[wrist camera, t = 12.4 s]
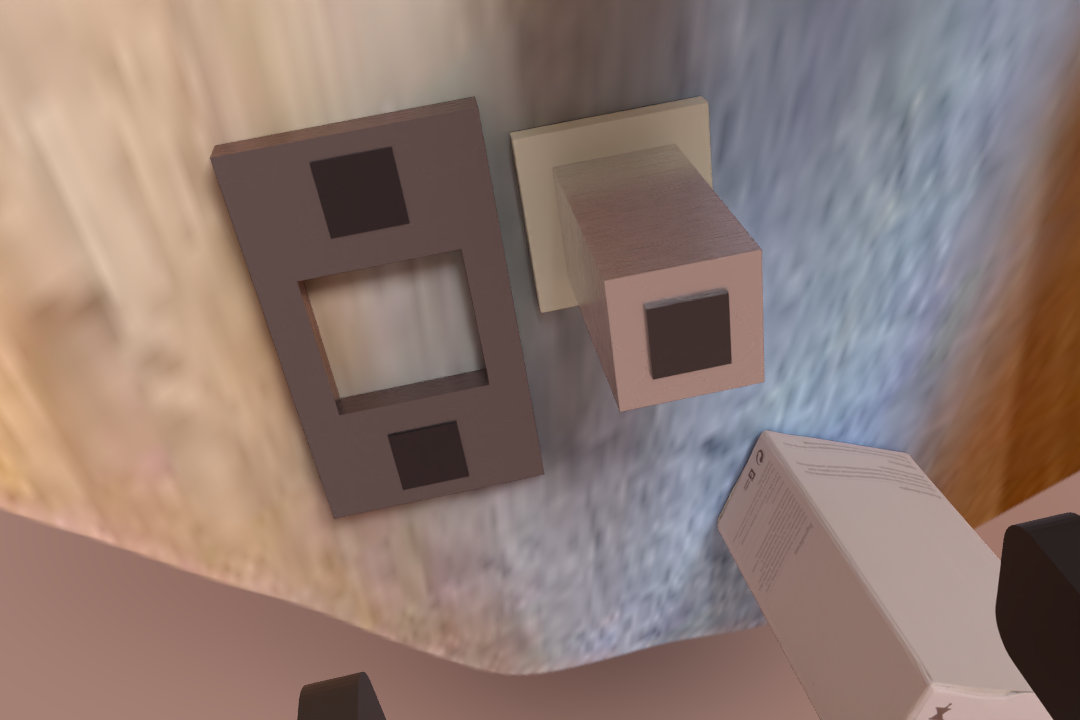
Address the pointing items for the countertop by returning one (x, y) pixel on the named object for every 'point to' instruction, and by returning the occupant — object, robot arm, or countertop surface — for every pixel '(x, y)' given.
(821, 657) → the skincare box
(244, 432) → the countertop surface
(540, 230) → the pad
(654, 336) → the square post
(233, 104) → the countertop surface
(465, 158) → the rectangular plate with hole
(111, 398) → the countertop surface
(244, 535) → the countertop surface
